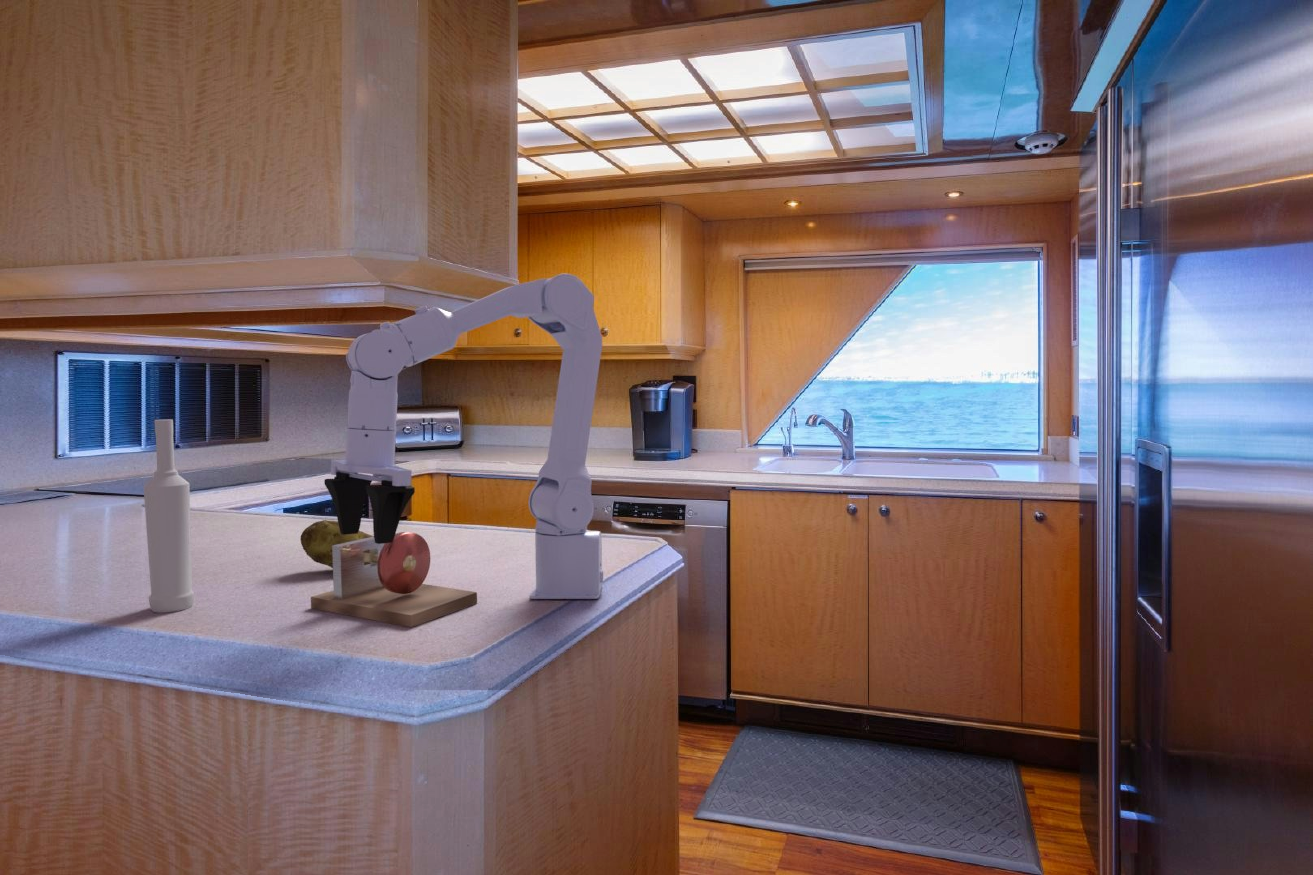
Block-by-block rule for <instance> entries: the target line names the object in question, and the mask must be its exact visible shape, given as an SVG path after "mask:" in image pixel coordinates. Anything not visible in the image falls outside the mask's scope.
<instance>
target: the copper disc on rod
mask: <svg viewBox="0 0 1313 875" xmlns="http://www.w3.org/2000/svg"><path fill="white" fill-rule="evenodd" d="M396 533H397V534H395V537H394V540H393V542H392V543H385V544H384V546H383V548H382V550H381V552H380V555H378V554H370V553H364V562H370V563H377V564H378V565H377V570H378V576H379V580H380V582H381V584H382V585H383V587H384V588H385V589H387V590H388V591H390V592H393V593H399V594H409V593H411V592H413V591H415V590H416V589H418V588H419V587H420V586H421V584H424V582H425V580H426V578H427V576H428V573H429V570H430V566H431V551H430V547H429V544H428V543H427V541H426V539H425V538H424V537H423V536H421V535H420V534H418V533H414V532H407V531H406V532H405V531H401V532H396Z"/></svg>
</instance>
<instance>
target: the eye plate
mask: <svg viewBox="0 0 1313 875" xmlns="http://www.w3.org/2000/svg"><path fill="white" fill-rule="evenodd" d="M397 533H398V532H396V533H395V534H397ZM384 544H385V543H382V544H377V543H375V540H374V537H369V538H364V539H360V540H355V541H351V542H346V543H342V544H337V545H333V546H332V553H333V568H332V576H333V577H332V578H333V579H332V580H333V591H334V598H336V599H341V600H342V599H346V598H349V597H352V596H356V595H359V594H362V593H366V592H369V591H373V590H376V589H379V588H383V585H382V584H381V582H380V580H379V576H378V570H377V565H378V564H377V563H370V564H368V565H364V551H366V550H370V554H378V555H380V552H381V550H382V548H383V546H384Z"/></svg>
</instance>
